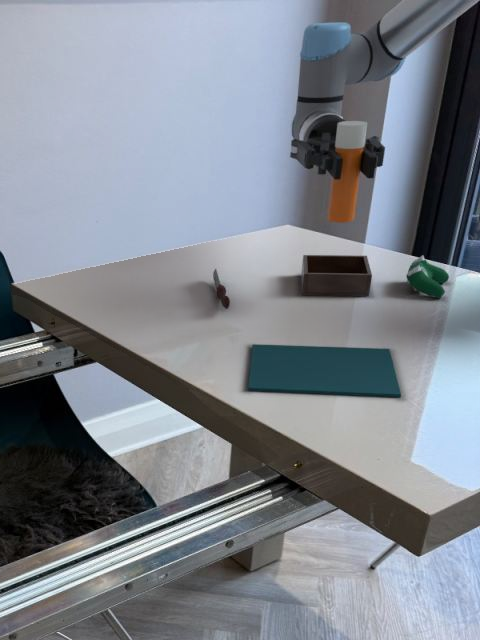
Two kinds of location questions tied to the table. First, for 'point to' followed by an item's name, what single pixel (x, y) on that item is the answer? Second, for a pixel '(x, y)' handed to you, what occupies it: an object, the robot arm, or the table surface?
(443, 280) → the gaming controller
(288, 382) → the mat
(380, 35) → the robot arm
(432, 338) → the table surface
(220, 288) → the knife
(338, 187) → the glue stick
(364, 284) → the box
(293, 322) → the table surface
